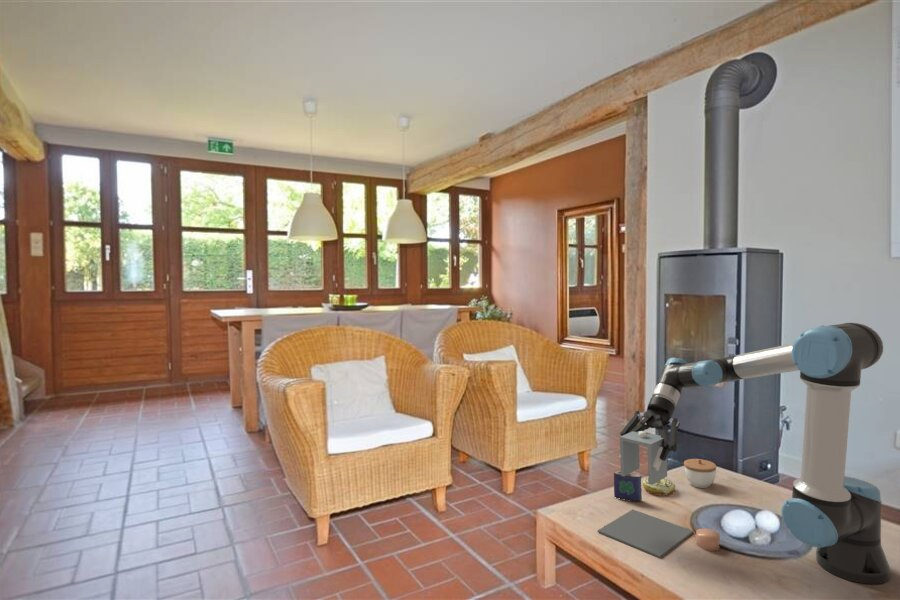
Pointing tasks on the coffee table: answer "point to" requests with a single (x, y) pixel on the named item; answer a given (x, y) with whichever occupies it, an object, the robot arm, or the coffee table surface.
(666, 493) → the decorated donut
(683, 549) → the coffee table surface
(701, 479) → the lidded jar
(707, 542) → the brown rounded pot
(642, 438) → the grey arch stand
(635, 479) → the flask
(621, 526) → the mat
